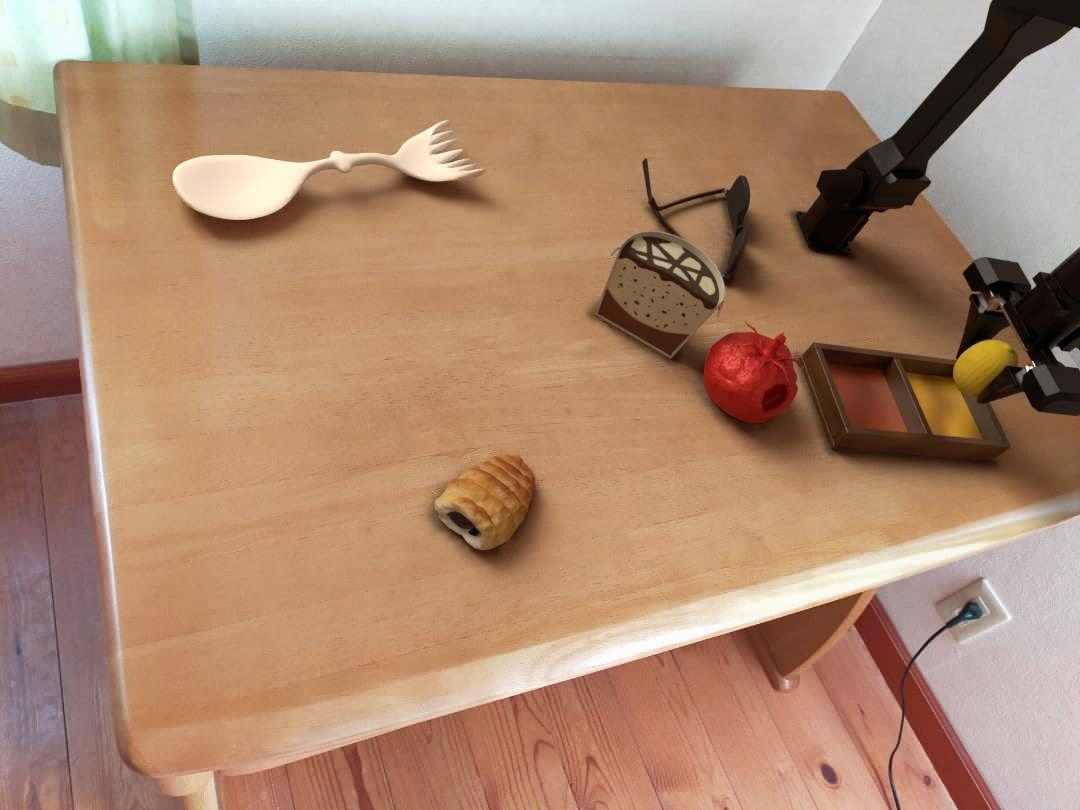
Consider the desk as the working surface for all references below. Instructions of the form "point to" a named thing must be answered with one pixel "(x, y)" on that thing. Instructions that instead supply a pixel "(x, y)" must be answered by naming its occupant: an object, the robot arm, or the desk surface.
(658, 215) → the sunglasses
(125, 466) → the desk surface
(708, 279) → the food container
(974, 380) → the lemon
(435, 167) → the spoon
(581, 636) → the desk surface
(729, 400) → the pomegranate
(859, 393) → the sorting tray
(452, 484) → the pastry
